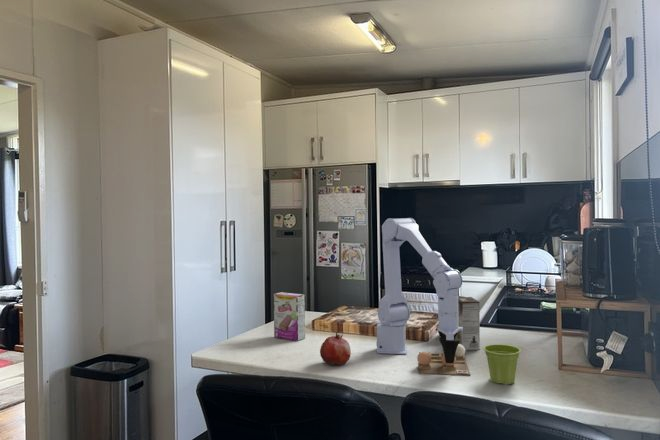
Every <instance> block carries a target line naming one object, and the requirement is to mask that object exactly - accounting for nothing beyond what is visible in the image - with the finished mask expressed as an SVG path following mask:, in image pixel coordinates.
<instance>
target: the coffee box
mask: <svg viewBox="0 0 660 440" xmlns="http://www.w3.org/2000/svg"><path fill="white" fill-rule="evenodd" d="M480 312H481V311H480V301H478V300H477V299H475V298H474V297H472V296H467V297H466V296H462V297H458V321H459V327H463V331H458V332H457V335H456V337H455V339H460V342H459V344H461V345H463V346H464V348H465V351H473V350H475V351H476V350H477V351H478V350H480V349H481V345H480V343H481V342H480V340H481V339H480V331H481V329H480V327H481V326H480V321H481V320H480V314H481V313H480Z"/></svg>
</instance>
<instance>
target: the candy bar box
mask: <svg viewBox="0 0 660 440" xmlns="http://www.w3.org/2000/svg"><path fill="white" fill-rule="evenodd" d="M305 298H306V296H305V294H302V293H291V292H285V291H283V292H282V291H281V292H276V293H273V323H274V324H273V330H274V332H273V334H274V335H273V337H274V338H277V339H283V340H287V341H288V340H289V341H295V342H300V341H302V340H304V339H306V315H305V313H306V309H305V307H306V306H305V304H306V303H305V300H306V299H305Z"/></svg>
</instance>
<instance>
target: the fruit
mask: <svg viewBox="0 0 660 440" xmlns="http://www.w3.org/2000/svg"><path fill="white" fill-rule="evenodd" d="M343 335H344V334H343V333H342V334H341V335H340V334H338V331H336V333H335V336H334V335H332V336H329V337H327V338H326V339H325V340H324V341H323V342H322V344H321V346H320V350H319V353H320V357H321V360H322V361H323V362H324V363H325V364H328V365H333V366H337V367H338V366H342V365H345V364H346V363H347V362H348V361H349V360H350V358H351V354H352V352H351V351H352V350H351V346H350V343H349V341H348V340H346V339H345V338H344V337H343Z"/></svg>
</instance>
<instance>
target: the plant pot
mask: <svg viewBox="0 0 660 440" xmlns="http://www.w3.org/2000/svg"><path fill="white" fill-rule="evenodd" d="M483 350H484V352H485V355H486V359H487V365H488V370H489V371H488V372H489V379H490V381H491V382H493V383H495V384H503V385H511V384H514V383H515V381H516V376H517V375H516V374H517V365H518V359H519V356H520V353H521V352H522V351H521V348H519V347H517V346H514V345H510V344H509V345H508V344H499V343H498V344H488V345H485V346H484V347H483Z"/></svg>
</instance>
